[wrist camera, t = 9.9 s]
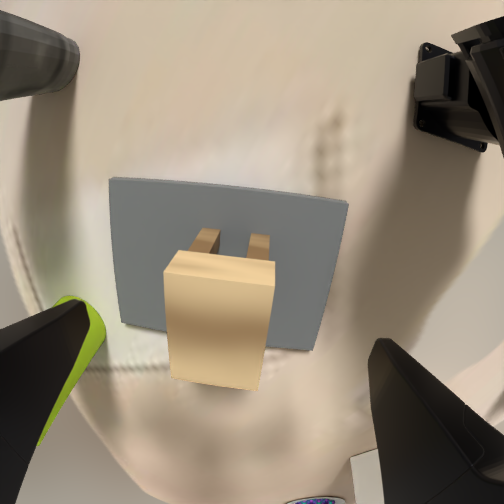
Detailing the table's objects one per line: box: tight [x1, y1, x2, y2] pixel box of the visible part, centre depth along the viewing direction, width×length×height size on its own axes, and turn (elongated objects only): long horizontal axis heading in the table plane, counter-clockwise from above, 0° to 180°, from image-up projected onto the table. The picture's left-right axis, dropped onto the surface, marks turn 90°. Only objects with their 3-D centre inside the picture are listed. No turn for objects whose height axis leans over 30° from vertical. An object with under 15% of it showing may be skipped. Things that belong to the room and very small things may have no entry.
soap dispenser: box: [37, 296, 106, 446], centre depth 16 cm, size 6×7×20 cm
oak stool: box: [163, 228, 275, 391], centre depth 18 cm, size 7×5×7 cm
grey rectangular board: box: [109, 177, 349, 351], centre depth 22 cm, size 16×12×1 cm
